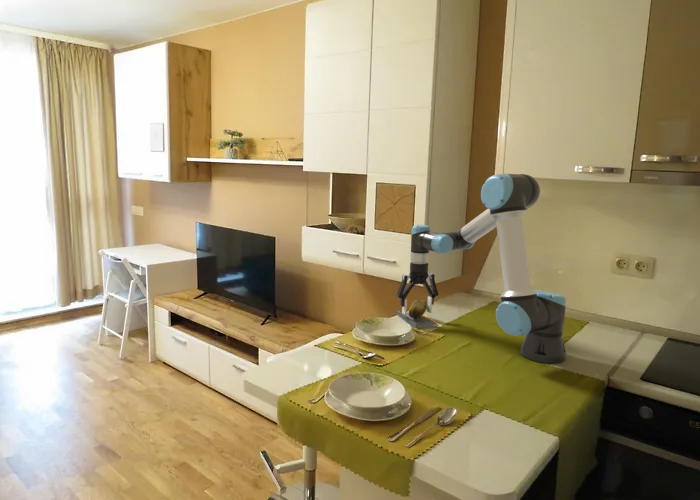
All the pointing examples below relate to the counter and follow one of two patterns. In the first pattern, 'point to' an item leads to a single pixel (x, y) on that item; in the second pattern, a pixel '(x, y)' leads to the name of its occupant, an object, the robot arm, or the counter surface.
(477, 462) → the counter surface
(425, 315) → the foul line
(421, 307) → the potato
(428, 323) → the mat
